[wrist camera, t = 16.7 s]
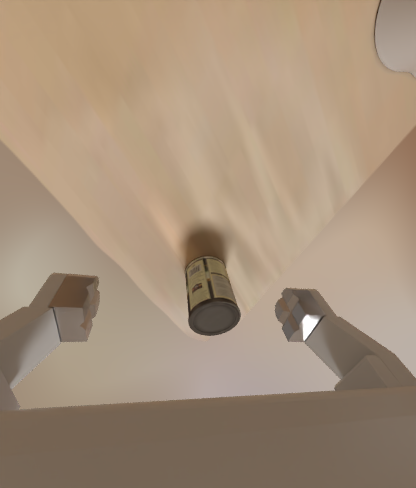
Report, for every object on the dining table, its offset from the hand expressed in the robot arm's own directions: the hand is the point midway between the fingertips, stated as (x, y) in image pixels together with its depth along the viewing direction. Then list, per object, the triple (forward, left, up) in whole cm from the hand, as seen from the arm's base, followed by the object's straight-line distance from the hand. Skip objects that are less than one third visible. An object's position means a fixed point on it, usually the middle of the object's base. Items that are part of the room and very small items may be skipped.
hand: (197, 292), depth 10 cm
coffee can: (+12, +27, -34) cm, 45 cm away
